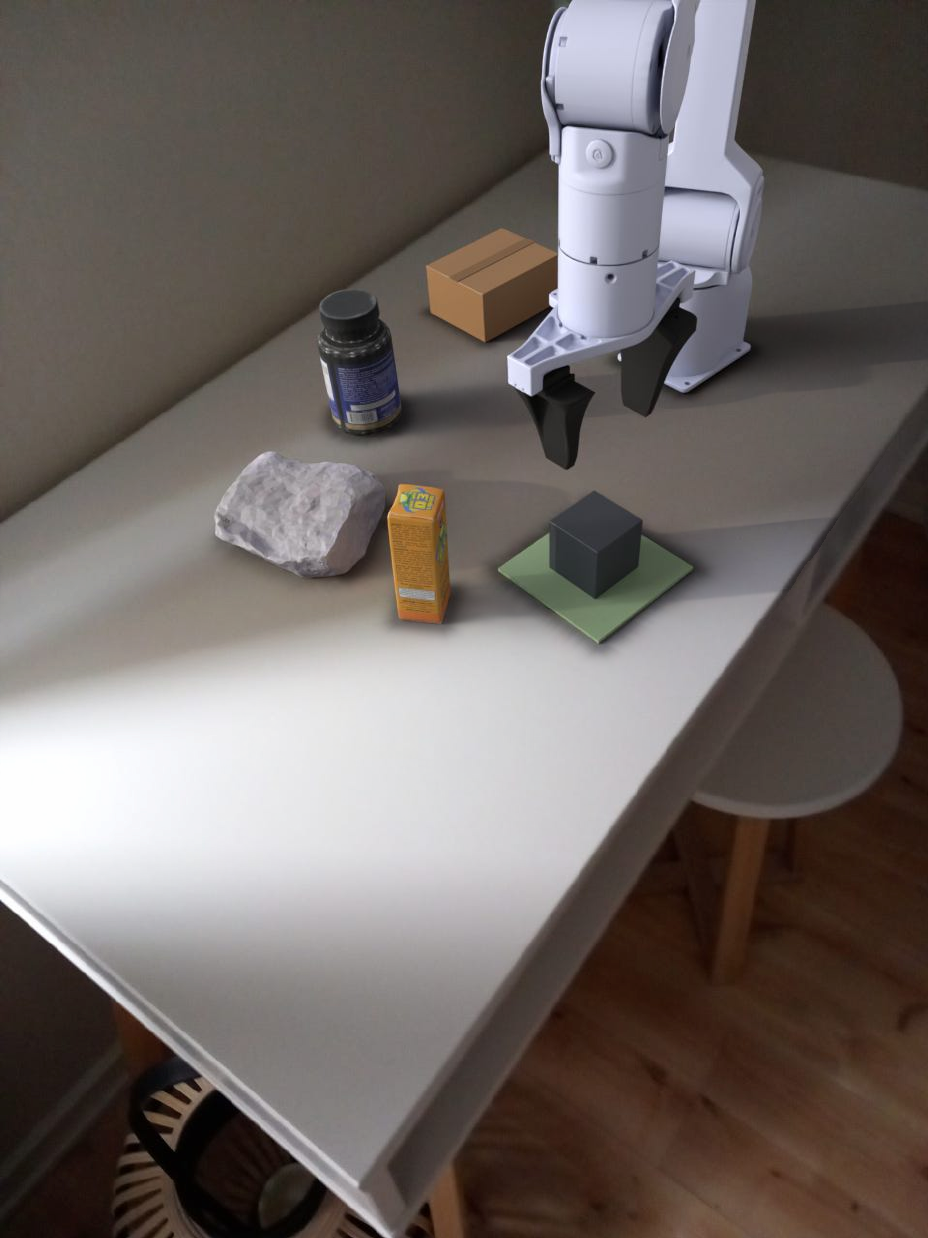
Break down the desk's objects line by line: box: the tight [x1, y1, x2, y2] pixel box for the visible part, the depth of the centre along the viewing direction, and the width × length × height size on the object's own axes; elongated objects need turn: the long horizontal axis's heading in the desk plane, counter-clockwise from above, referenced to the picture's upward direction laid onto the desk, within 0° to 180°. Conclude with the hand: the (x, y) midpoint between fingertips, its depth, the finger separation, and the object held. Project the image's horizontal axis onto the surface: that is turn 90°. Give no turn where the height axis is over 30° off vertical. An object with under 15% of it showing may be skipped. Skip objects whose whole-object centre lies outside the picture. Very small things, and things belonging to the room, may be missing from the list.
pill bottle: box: [316, 288, 402, 437], centre depth 81 cm, size 6×6×11 cm
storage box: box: [425, 227, 558, 343], centre depth 94 cm, size 10×8×5 cm
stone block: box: [213, 450, 386, 579], centre depth 75 cm, size 12×5×10 cm
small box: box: [548, 490, 644, 599], centre depth 69 cm, size 5×5×5 cm
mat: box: [497, 532, 694, 644], centre depth 71 cm, size 10×10×1 cm
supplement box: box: [387, 483, 451, 624], centre depth 66 cm, size 3×3×10 cm
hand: (599, 434), depth 65 cm, fingers open, 7 cm apart
